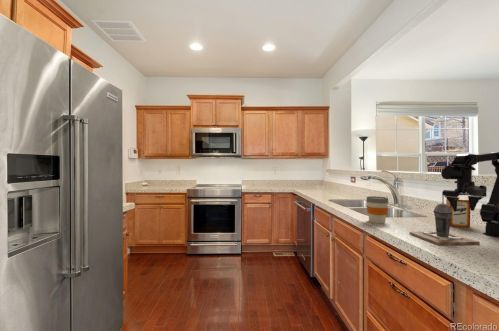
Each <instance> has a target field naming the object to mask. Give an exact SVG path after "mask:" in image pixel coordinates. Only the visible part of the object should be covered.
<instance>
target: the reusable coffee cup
mask: <svg viewBox="0 0 499 331" xmlns="http://www.w3.org/2000/svg"><path fill="white" fill-rule="evenodd" d="M365 201H366V204H367V205H366V212H367V215H368V221H369V222H371V223H374V224H384V223H386V219H387V218H386V217H387V215H388V210H389V207H388V205H389V197H385V196H376V195H375V196H374V195H373V196H372V195H371V196H366V200H365Z"/></svg>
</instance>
